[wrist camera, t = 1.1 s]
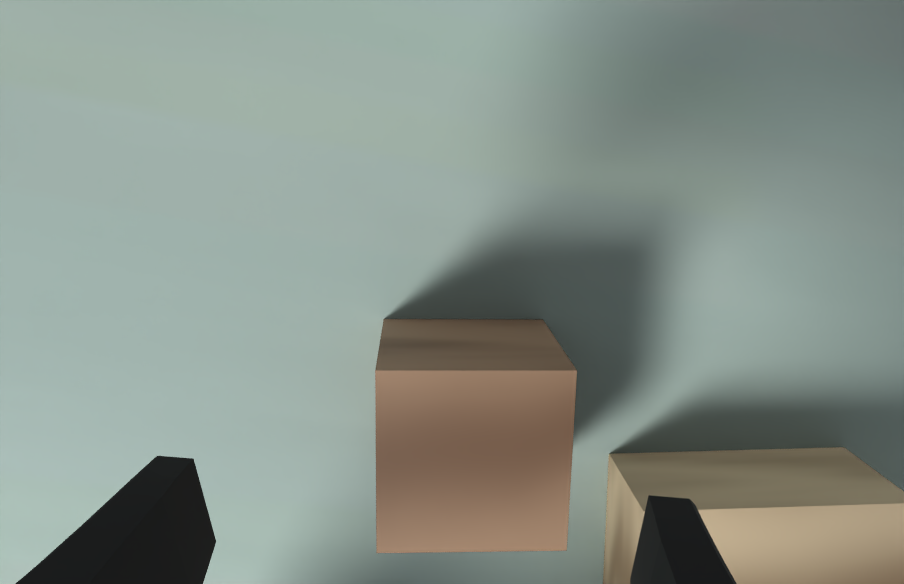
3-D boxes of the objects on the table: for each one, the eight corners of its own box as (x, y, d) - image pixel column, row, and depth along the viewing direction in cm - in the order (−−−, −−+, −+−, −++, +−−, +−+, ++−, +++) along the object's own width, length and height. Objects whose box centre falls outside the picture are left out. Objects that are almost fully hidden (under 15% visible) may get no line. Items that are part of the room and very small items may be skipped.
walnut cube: (535, 464, 24) (566, 550, 19) (384, 465, 24) (376, 553, 19) (542, 318, 23) (576, 370, 18) (383, 318, 23) (375, 370, 18)
